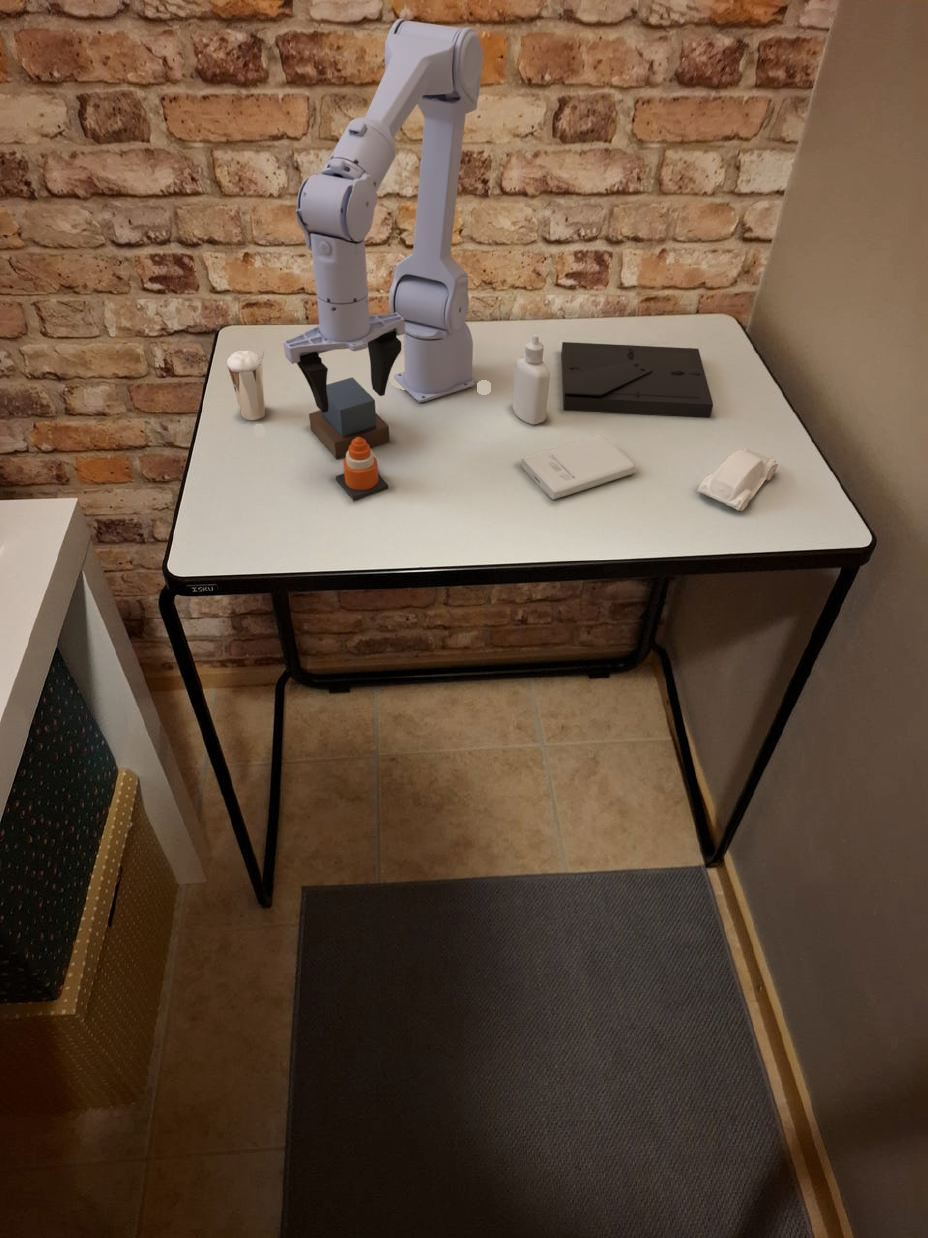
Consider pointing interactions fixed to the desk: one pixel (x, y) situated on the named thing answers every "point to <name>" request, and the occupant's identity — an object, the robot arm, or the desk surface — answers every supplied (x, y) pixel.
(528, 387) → the eye dropper bottle
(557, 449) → the hard drive
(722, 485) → the car
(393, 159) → the robot arm
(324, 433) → the base block
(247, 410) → the milkshake
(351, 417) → the blue block
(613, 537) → the desk surface
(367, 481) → the cone
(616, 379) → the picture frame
